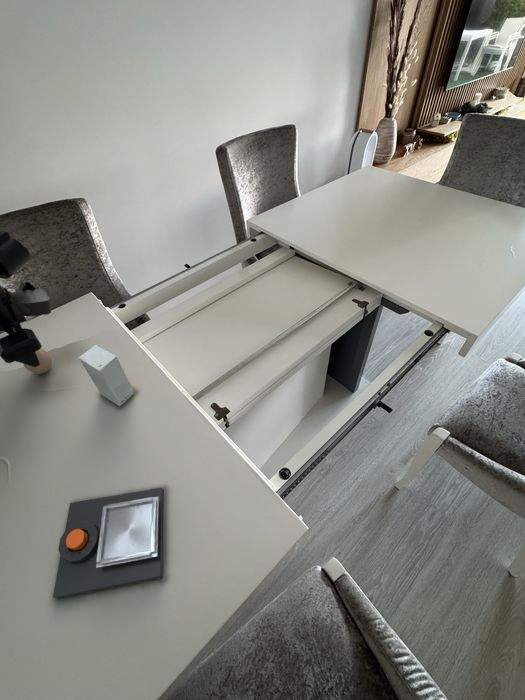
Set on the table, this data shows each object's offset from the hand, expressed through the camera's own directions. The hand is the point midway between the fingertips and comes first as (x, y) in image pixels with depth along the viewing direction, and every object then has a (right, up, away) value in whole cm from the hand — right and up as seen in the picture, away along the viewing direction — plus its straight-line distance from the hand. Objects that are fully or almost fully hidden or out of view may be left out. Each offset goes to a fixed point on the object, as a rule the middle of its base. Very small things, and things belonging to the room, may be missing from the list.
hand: (30, 352), depth 73 cm
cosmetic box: (+18, -9, +1) cm, 20 cm away
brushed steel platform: (+28, -27, -20) cm, 44 cm away
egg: (0, -4, +5) cm, 6 cm away
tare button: (+21, -29, -20) cm, 41 cm away
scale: (+25, -30, -18) cm, 43 cm away
